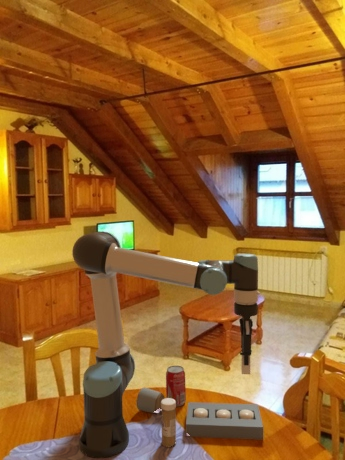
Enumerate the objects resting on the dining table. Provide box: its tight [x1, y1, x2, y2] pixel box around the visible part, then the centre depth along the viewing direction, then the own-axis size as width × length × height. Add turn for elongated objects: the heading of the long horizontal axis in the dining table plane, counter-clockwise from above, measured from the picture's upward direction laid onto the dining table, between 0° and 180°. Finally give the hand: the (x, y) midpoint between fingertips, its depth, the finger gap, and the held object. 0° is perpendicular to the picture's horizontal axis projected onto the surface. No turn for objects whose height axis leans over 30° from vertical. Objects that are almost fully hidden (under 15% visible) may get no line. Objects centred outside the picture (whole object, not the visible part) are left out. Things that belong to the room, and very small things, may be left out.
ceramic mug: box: [136, 387, 166, 414], centre depth 141 cm, size 11×8×8 cm
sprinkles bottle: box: [161, 398, 177, 448], centre depth 120 cm, size 5×5×14 cm
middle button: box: [216, 410, 231, 419], centre depth 130 cm, size 5×5×3 cm
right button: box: [239, 410, 254, 419], centre depth 129 cm, size 5×5×3 cm
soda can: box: [165, 365, 187, 408], centre depth 145 cm, size 7×7×13 cm
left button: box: [194, 408, 208, 418], centre depth 130 cm, size 5×5×3 cm
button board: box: [185, 401, 264, 440], centre depth 130 cm, size 24×14×4 cm, turn 85°
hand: (245, 373), depth 128 cm, fingers closed
